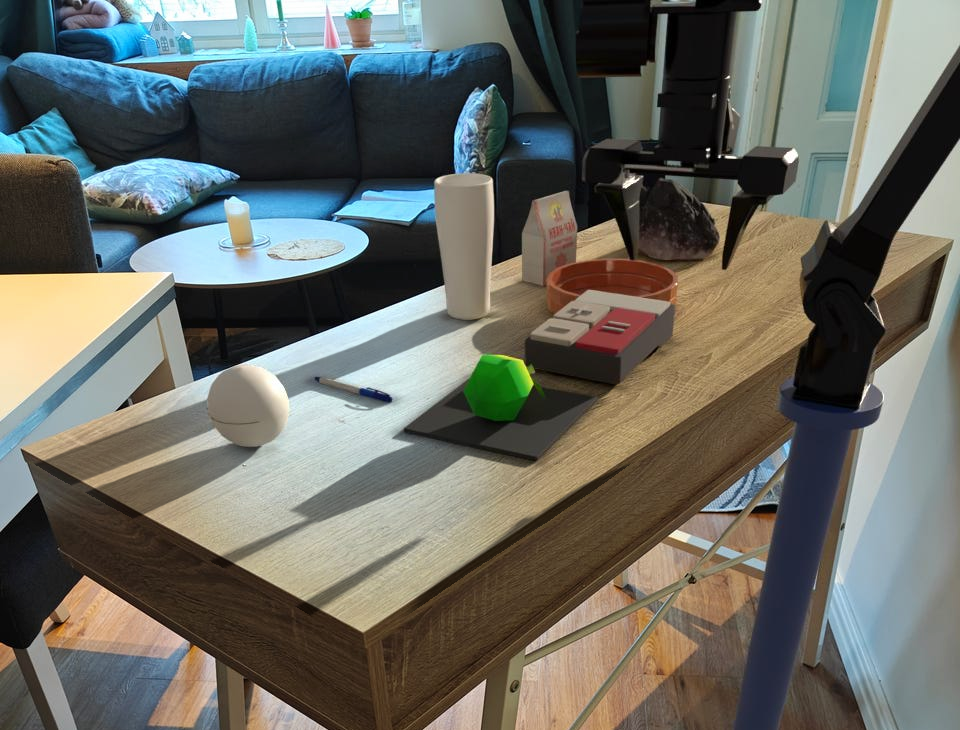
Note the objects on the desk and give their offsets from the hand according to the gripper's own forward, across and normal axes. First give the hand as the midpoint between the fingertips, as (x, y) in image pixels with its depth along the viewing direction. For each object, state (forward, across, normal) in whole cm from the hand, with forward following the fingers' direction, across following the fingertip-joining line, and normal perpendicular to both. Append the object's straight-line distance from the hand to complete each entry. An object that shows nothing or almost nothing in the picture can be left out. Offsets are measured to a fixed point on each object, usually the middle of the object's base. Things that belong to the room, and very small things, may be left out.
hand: (678, 263), depth 87 cm
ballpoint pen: (+11, +28, +17) cm, 35 cm away
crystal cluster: (+11, +14, -42) cm, 46 cm away
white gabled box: (+11, +25, -25) cm, 37 cm away
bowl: (+11, +13, -16) cm, 24 cm away
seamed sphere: (+11, +30, +32) cm, 46 cm away
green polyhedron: (+11, +11, +16) cm, 22 cm away
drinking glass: (+11, +28, -8) cm, 31 cm away
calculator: (+11, +8, -2) cm, 13 cm away
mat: (+11, +11, +17) cm, 23 cm away
